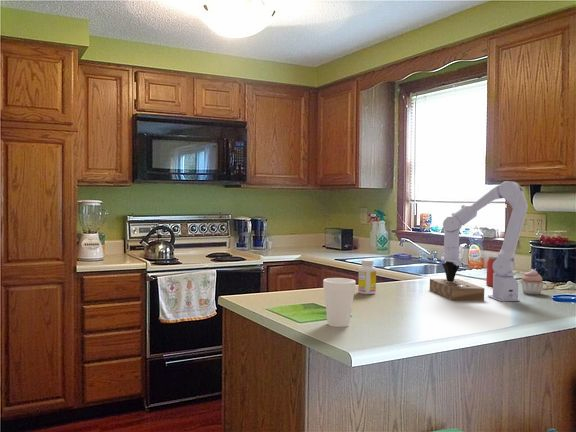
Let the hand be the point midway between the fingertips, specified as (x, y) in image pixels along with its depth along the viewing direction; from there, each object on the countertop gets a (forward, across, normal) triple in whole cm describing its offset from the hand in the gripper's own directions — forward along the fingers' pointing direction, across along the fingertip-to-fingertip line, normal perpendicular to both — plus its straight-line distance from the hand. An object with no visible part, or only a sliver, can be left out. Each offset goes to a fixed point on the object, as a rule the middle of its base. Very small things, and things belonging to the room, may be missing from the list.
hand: (450, 281), depth 221 cm
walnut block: (+4, +5, 0) cm, 7 cm away
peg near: (+4, +10, 0) cm, 11 cm away
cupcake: (+5, +3, +33) cm, 33 cm away
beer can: (+5, -15, +27) cm, 31 cm away
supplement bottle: (+5, 0, -34) cm, 34 cm away
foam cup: (+5, +49, -57) cm, 75 cm away
